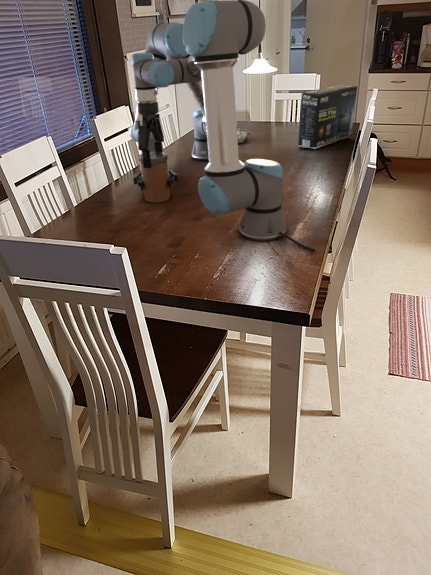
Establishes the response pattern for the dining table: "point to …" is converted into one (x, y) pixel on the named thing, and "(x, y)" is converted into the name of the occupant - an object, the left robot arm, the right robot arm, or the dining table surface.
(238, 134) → the fossil
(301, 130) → the router box
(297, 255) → the dining table surface
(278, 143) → the dining table surface
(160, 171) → the jar
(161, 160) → the lid
